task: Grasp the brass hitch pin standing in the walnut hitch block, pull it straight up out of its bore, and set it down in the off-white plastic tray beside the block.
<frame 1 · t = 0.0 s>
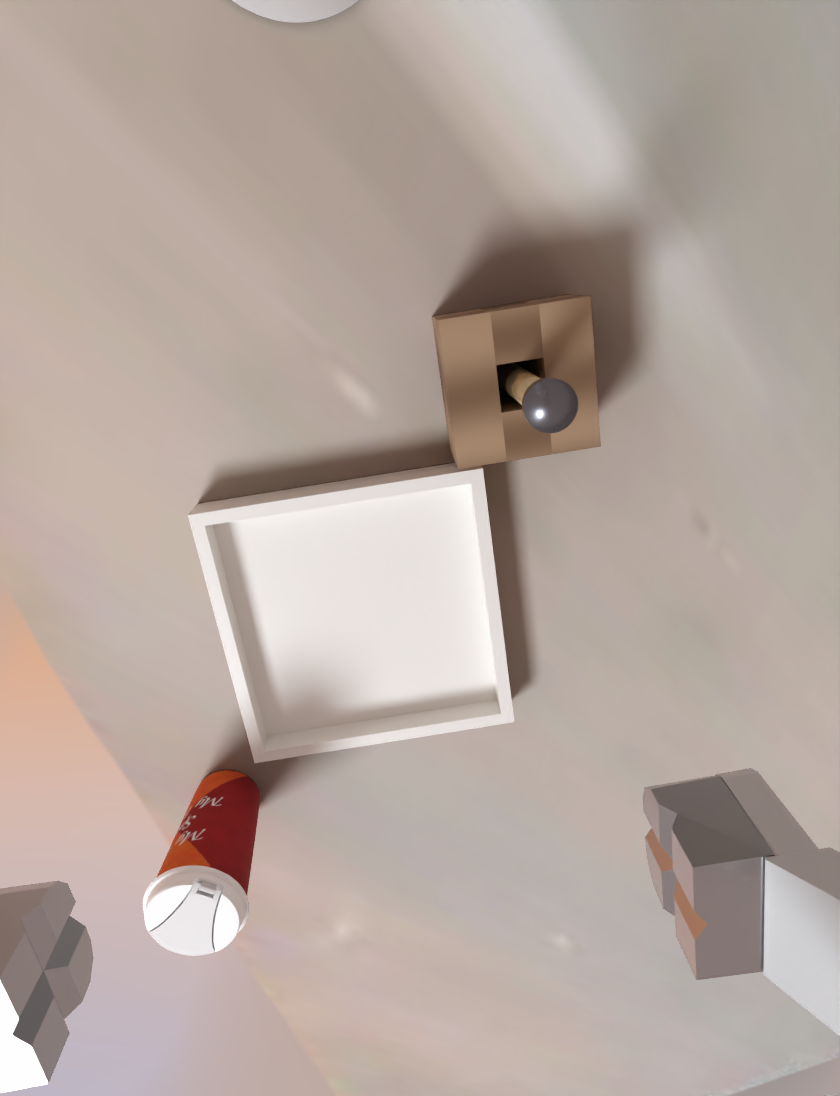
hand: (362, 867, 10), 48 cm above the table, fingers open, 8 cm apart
paper cup: (228, 794, 67), on the table
walnut hitch block: (507, 374, 56), on the table
off-white tray: (362, 609, 61), on the table
brass pin: (526, 388, 49), in the walnut hitch block
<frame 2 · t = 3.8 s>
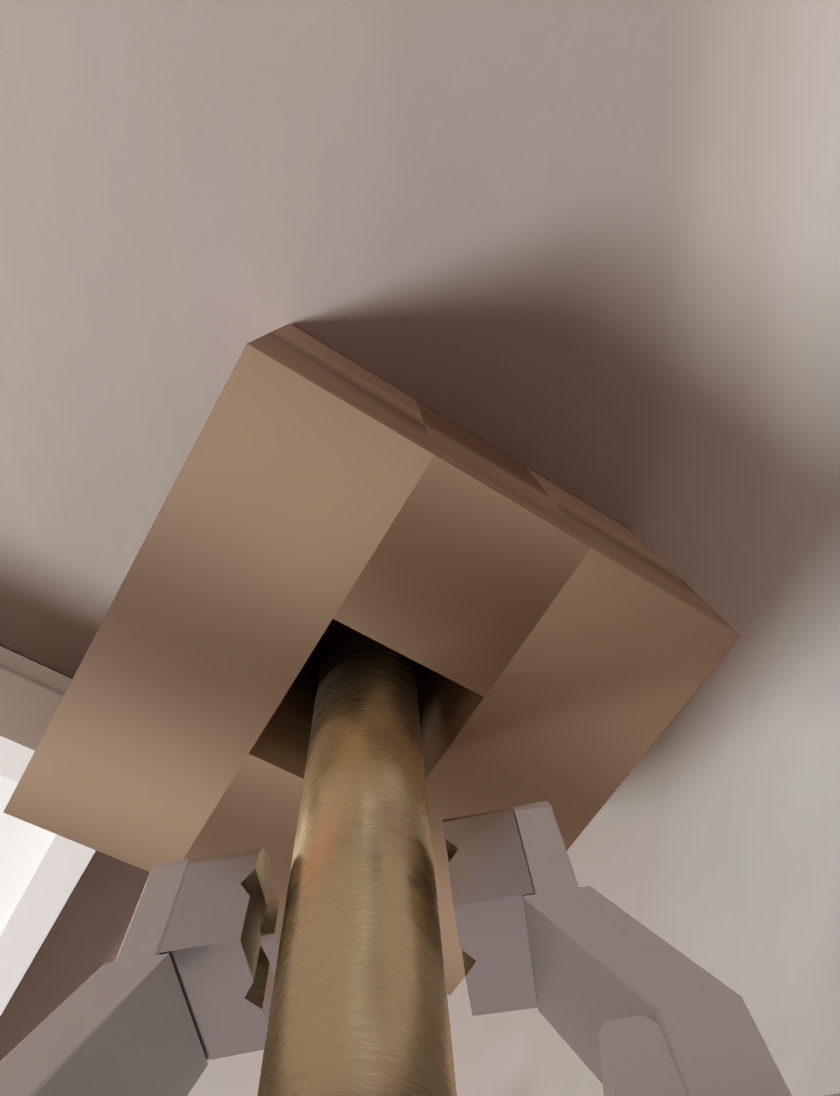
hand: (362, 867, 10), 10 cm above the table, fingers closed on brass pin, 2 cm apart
walnut hitch block: (369, 597, 20), on the table
brass pin: (365, 775, 12), in the walnut hitch block, touching gripper
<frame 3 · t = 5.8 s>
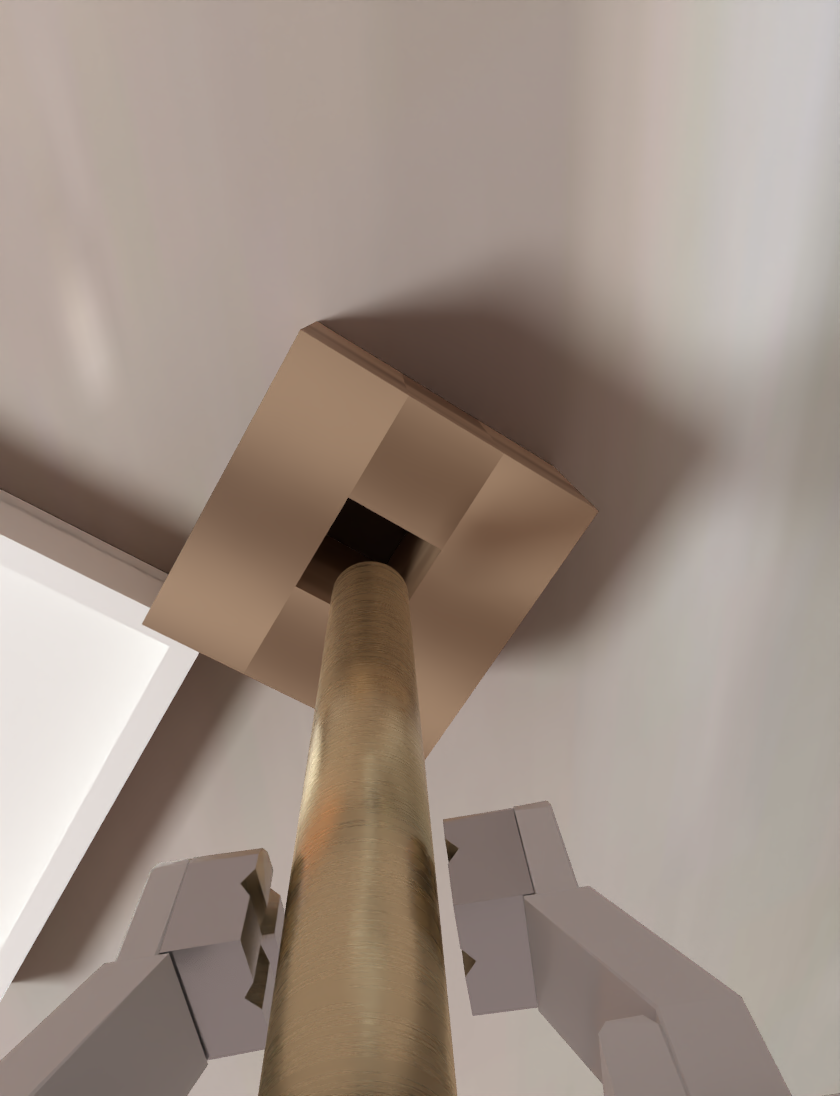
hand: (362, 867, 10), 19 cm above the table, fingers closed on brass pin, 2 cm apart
walnut hitch block: (369, 512, 28), on the table
brass pin: (365, 775, 12), point 16 cm above the table, touching gripper
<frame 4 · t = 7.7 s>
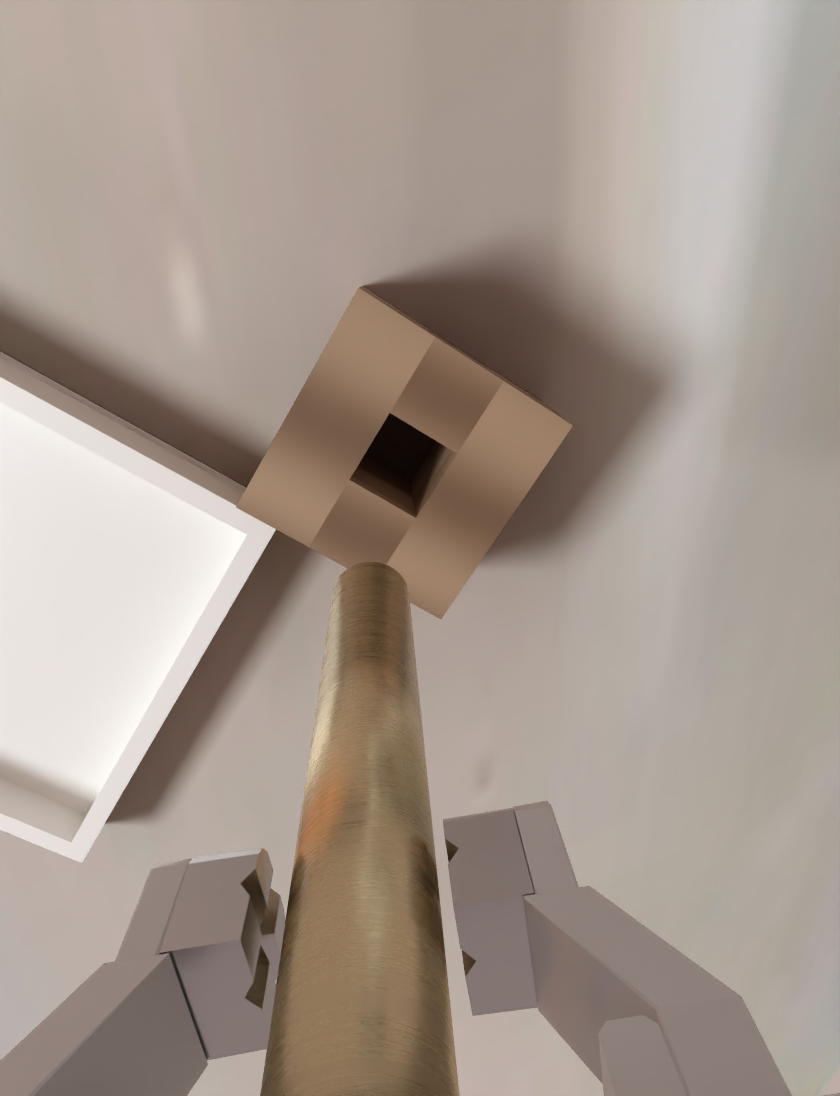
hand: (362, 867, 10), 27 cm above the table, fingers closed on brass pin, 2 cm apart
walnut hitch block: (399, 437, 36), on the table
brass pin: (367, 775, 12), point 25 cm above the table, touching gripper
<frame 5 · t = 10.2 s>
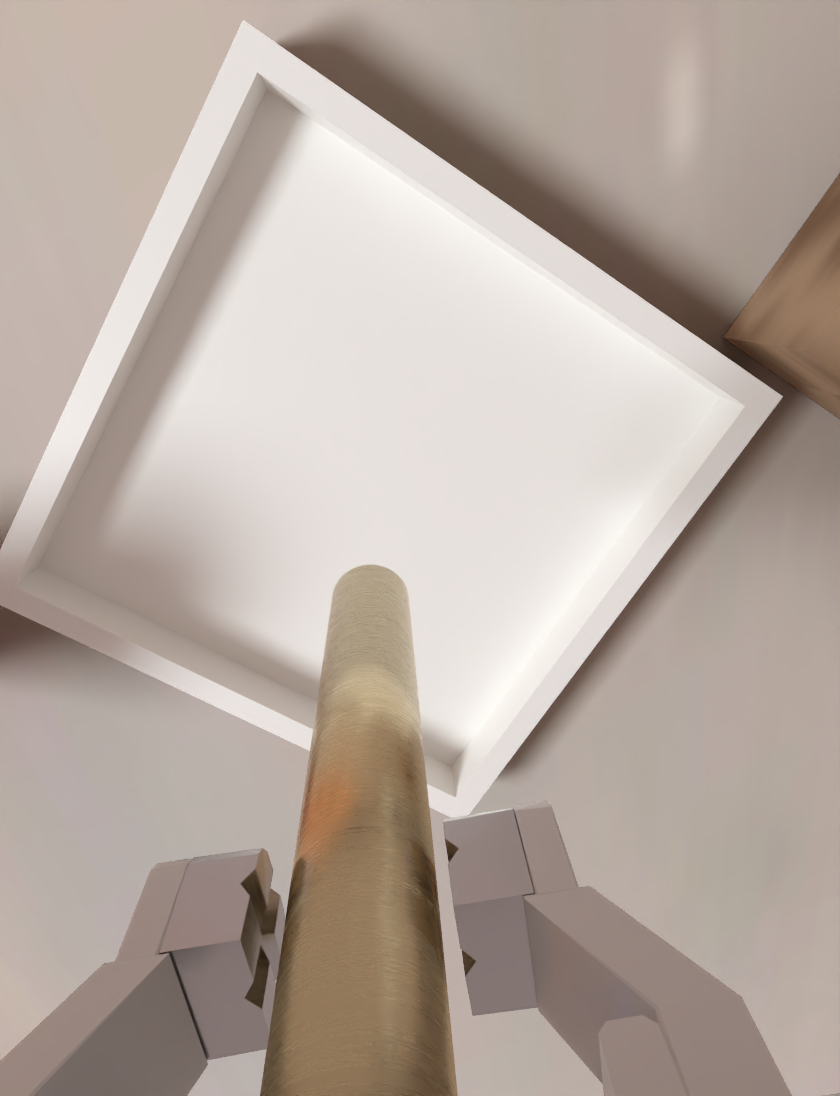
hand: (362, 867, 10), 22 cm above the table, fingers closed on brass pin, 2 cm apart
off-white tray: (374, 477, 31), on the table
brass pin: (366, 780, 12), point 20 cm above the table, touching gripper
when the fingers open (12 cm above the table, at t = 12.1 s): brass pin drops 1 cm, resting on off-white tray.
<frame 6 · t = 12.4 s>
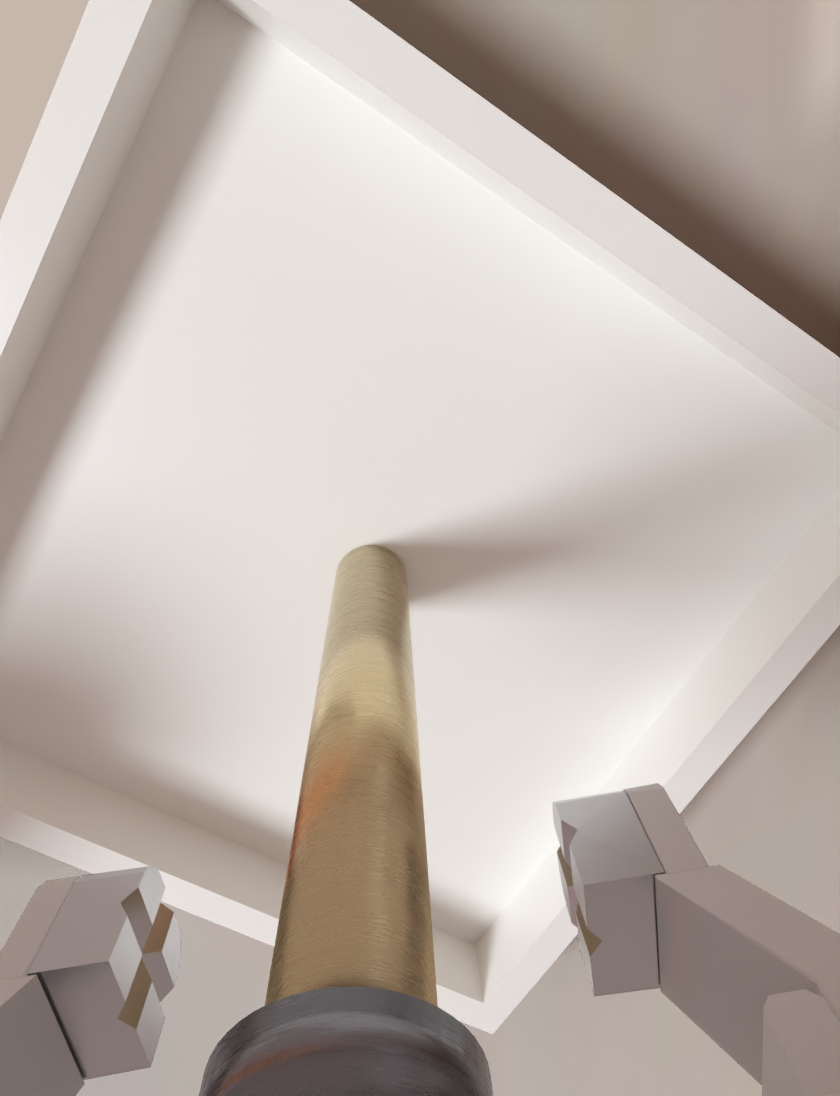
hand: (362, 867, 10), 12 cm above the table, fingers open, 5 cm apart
off-white tray: (369, 566, 22), on the table
brass pin: (364, 732, 14), in the off-white tray, point 8 cm above the table
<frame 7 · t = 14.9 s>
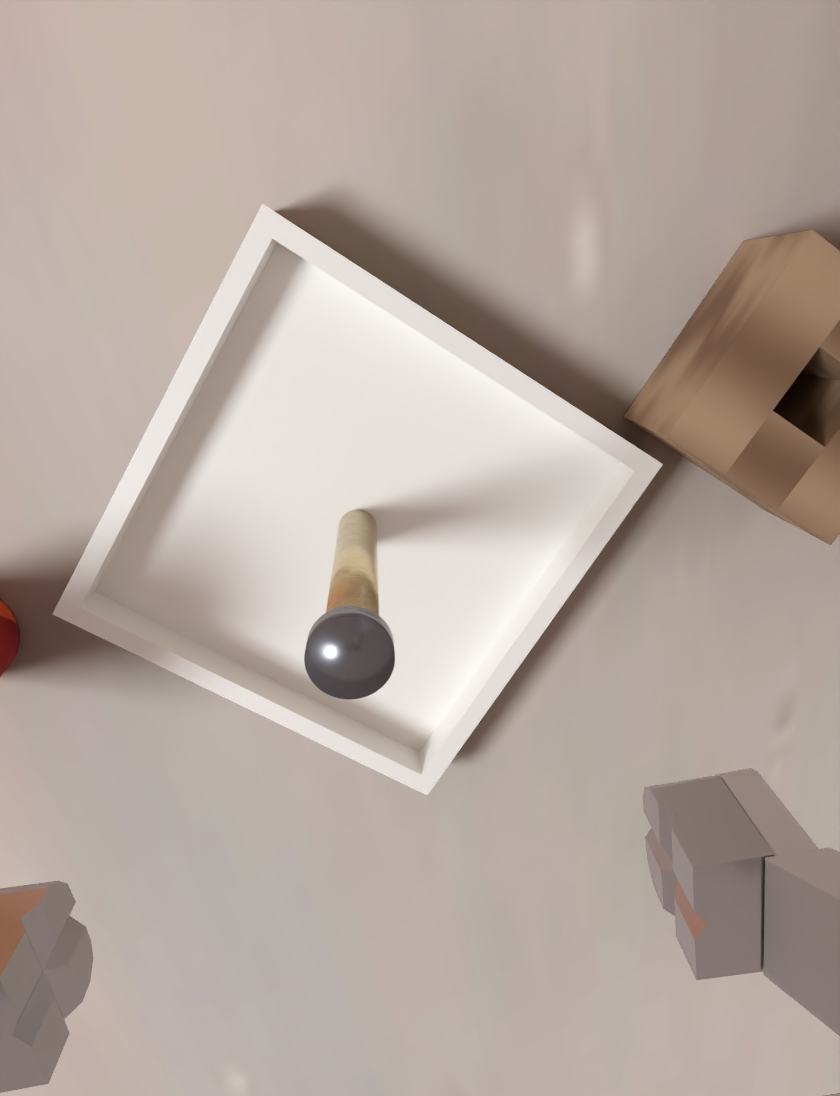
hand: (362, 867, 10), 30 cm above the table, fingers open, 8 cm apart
walnut hitch block: (755, 383, 39), on the table
off-white tray: (356, 522, 40), on the table
brass pin: (354, 579, 32), in the off-white tray, point 8 cm above the table
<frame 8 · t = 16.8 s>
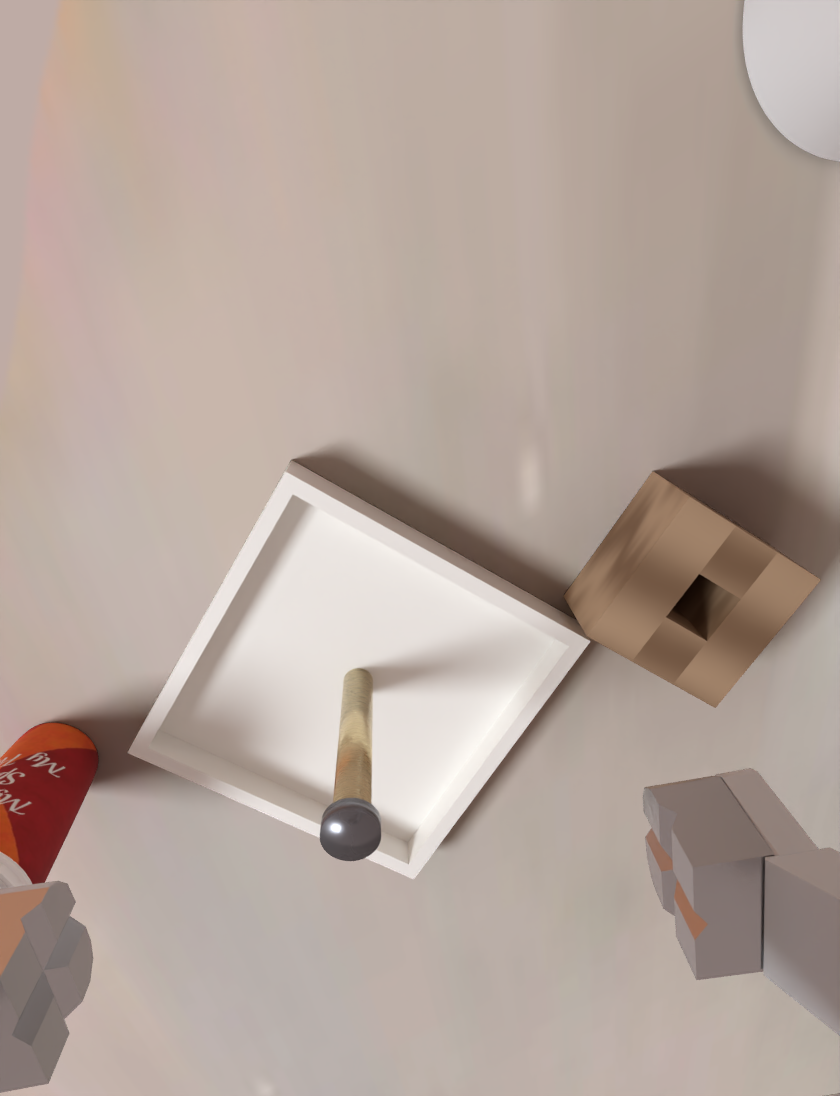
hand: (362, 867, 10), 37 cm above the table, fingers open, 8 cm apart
paper cup: (58, 754, 52), on the table
walnut hitch block: (666, 571, 50), on the table
off-white tray: (357, 674, 51), on the table
brass pin: (355, 746, 43), in the off-white tray, point 8 cm above the table
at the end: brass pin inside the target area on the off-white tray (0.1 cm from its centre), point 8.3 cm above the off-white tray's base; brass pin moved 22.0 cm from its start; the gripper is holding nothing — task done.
